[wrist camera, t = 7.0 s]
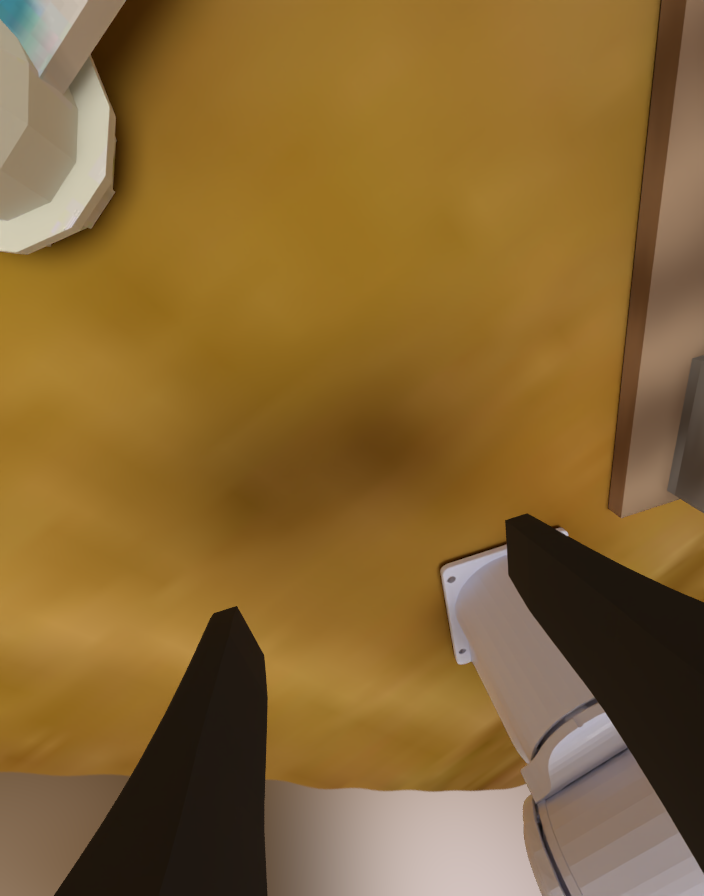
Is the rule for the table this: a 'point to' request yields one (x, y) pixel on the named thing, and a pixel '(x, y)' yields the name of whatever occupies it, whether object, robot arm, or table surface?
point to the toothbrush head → (53, 121)
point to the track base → (667, 287)
